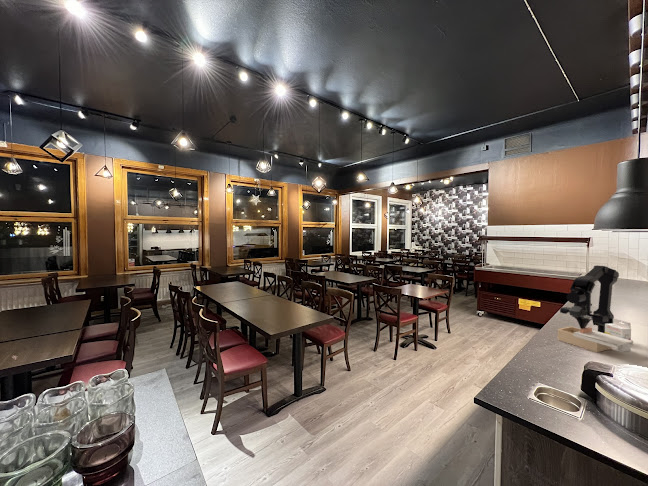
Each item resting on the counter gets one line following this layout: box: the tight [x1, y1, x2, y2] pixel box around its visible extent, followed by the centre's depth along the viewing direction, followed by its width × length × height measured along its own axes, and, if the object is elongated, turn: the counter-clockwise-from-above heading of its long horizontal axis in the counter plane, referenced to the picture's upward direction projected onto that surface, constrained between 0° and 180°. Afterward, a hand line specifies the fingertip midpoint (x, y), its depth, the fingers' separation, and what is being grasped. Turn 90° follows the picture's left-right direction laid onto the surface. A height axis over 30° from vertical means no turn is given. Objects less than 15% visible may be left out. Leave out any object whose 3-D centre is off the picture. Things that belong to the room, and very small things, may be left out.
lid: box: [574, 326, 634, 350], centre depth 137 cm, size 14×17×4 cm
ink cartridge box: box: [605, 317, 632, 352], centre depth 140 cm, size 9×5×15 cm, turn 3°
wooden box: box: [557, 326, 612, 353], centre depth 145 cm, size 12×17×6 cm
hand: (582, 329), depth 145 cm, fingers closed
